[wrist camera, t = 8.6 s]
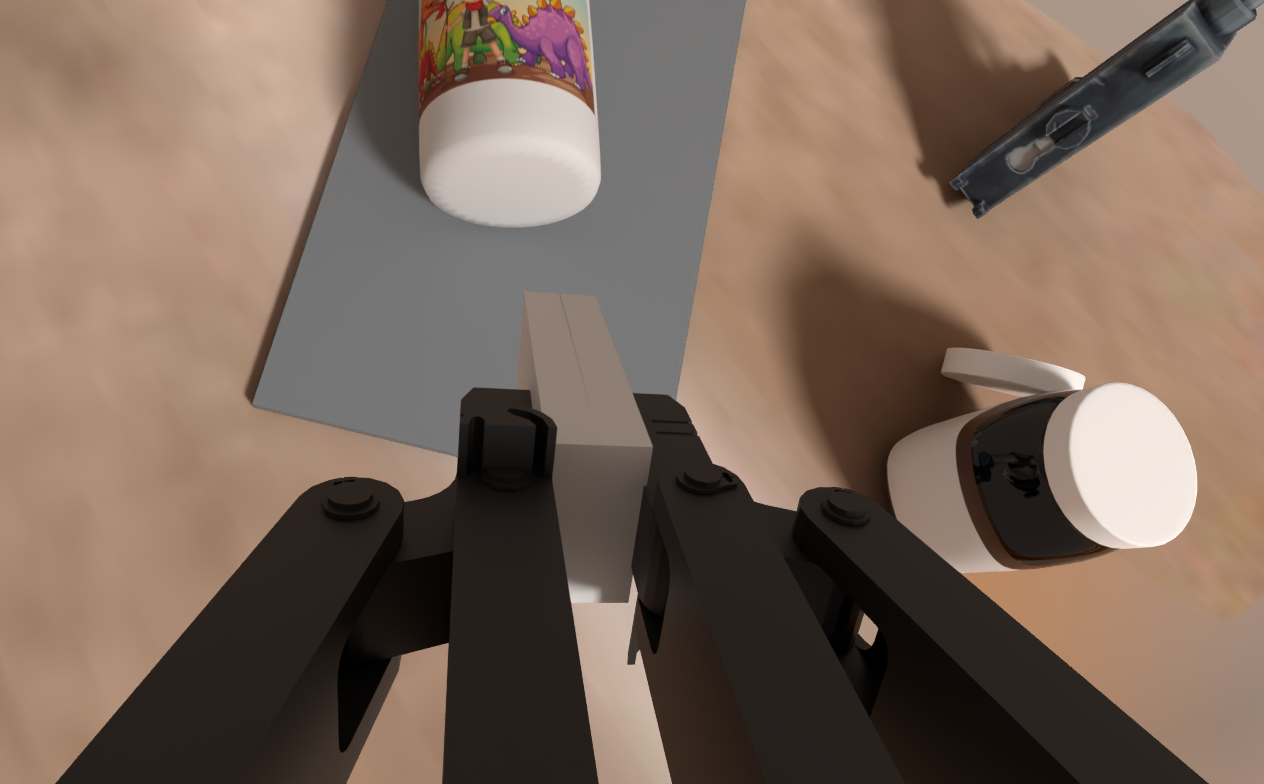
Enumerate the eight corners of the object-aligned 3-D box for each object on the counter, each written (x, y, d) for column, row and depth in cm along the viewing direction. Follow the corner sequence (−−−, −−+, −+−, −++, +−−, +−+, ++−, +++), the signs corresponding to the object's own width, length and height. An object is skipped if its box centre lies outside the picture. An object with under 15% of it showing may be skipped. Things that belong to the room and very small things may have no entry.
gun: (1335, -56, 44) (1307, 5, 34) (1052, 139, 57) (976, 220, 48) (1304, -96, 44) (1268, -46, 34) (1028, 108, 57) (947, 183, 48)
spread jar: (892, 592, 42) (1079, 589, 31) (827, 380, 44) (982, 309, 33) (1062, 532, 46) (1278, 512, 36) (997, 342, 48) (1184, 268, 37)
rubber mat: (653, 504, 39) (657, 503, 38) (253, 407, 34) (252, 404, 34) (752, -55, 49) (756, -63, 48) (453, -189, 44) (454, -199, 44)
